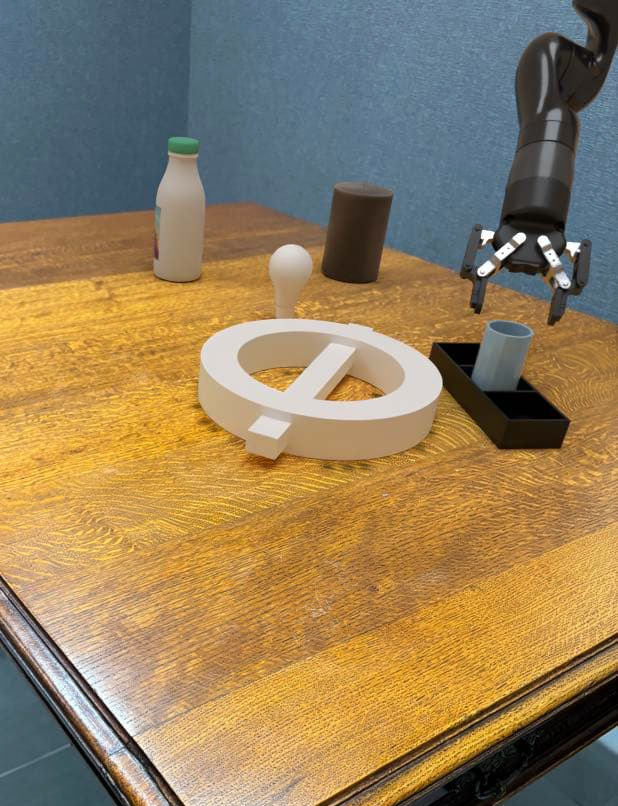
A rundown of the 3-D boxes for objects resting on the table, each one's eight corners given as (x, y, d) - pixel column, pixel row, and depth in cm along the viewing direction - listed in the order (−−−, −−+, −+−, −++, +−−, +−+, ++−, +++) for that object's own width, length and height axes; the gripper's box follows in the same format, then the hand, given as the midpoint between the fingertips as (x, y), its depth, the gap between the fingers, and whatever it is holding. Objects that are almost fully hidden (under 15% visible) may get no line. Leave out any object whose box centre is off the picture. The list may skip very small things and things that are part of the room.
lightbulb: (292, 334, 114) (303, 254, 108) (254, 323, 116) (263, 244, 110) (311, 322, 118) (323, 245, 112) (274, 311, 121) (284, 235, 114)
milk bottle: (209, 275, 132) (220, 140, 120) (183, 286, 127) (191, 146, 115) (171, 264, 135) (177, 132, 124) (143, 275, 130) (147, 137, 118)
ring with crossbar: (360, 346, 112) (367, 313, 109) (480, 444, 91) (492, 406, 88) (167, 361, 103) (169, 325, 100) (251, 474, 82) (256, 432, 79)
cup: (499, 389, 102) (520, 320, 97) (518, 408, 98) (542, 337, 93) (459, 389, 101) (478, 319, 96) (477, 408, 97) (498, 337, 92)
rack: (479, 367, 110) (486, 342, 107) (560, 448, 92) (571, 420, 90) (426, 366, 108) (432, 341, 106) (498, 449, 91) (508, 421, 89)
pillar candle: (350, 286, 133) (367, 189, 124) (309, 269, 139) (322, 175, 130) (389, 278, 138) (408, 184, 129) (348, 261, 144) (363, 171, 135)
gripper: (483, 166, 95) (458, 292, 93) (610, 182, 93) (588, 312, 91) (472, 203, 103) (448, 321, 100) (589, 219, 100) (568, 340, 98)
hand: (514, 317), depth 96 cm, fingers open, 8 cm apart
